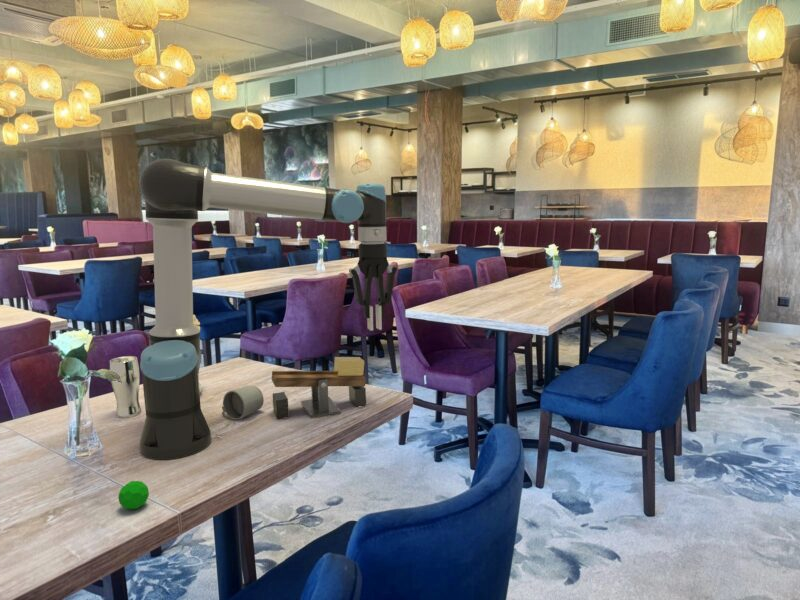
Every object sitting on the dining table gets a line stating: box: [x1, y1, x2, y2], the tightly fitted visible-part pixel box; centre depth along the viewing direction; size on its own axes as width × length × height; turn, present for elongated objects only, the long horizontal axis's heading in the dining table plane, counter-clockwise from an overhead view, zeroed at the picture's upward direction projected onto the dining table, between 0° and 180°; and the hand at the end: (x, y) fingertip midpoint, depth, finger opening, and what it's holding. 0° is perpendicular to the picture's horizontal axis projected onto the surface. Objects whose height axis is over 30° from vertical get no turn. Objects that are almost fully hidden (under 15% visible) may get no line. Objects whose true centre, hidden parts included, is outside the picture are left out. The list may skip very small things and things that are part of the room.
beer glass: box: [109, 355, 142, 419], centre depth 148 cm, size 7×7×15 cm
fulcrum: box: [272, 379, 367, 420], centre depth 150 cm, size 24×12×9 cm, turn 111°
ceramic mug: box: [221, 385, 265, 421], centre depth 147 cm, size 11×8×8 cm
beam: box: [271, 370, 367, 388], centre depth 149 cm, size 24×7×2 cm, turn 111°
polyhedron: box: [117, 480, 150, 510], centre depth 102 cm, size 5×5×5 cm
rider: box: [333, 356, 365, 377], centre depth 152 cm, size 7×5×5 cm, turn 111°
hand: (374, 328), depth 153 cm, fingers open, 2 cm apart
